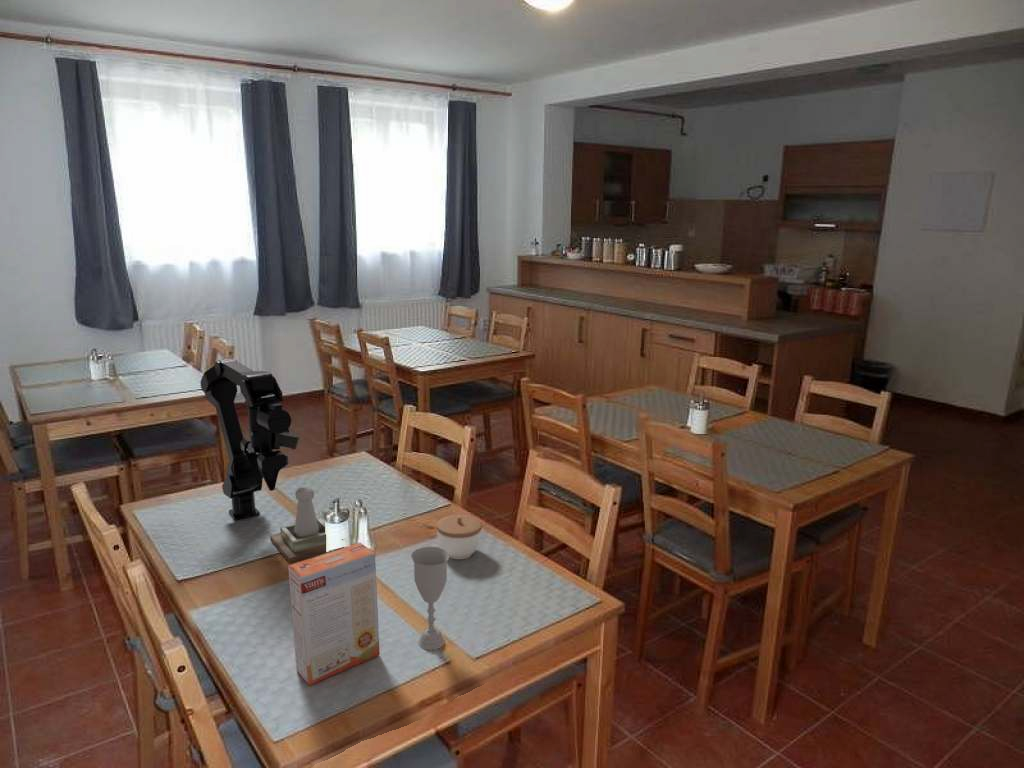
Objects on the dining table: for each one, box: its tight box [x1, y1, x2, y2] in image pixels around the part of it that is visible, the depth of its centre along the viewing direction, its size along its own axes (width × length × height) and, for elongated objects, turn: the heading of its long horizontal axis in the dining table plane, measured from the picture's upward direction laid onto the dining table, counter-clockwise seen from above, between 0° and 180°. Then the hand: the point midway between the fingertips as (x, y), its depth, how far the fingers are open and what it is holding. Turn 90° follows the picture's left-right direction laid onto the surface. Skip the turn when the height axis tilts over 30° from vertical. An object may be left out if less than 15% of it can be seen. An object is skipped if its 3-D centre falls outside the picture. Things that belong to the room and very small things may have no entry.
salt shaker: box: [294, 486, 319, 540], centre depth 168 cm, size 6×6×13 cm
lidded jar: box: [436, 513, 483, 560], centre depth 165 cm, size 11×11×9 cm
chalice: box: [410, 546, 450, 651], centre depth 130 cm, size 7×7×18 cm
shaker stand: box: [269, 517, 326, 564], centre depth 170 cm, size 14×14×4 cm
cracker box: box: [287, 542, 381, 686], centre depth 123 cm, size 14×6×21 cm, turn 129°
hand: (266, 484), depth 172 cm, fingers open, 9 cm apart
